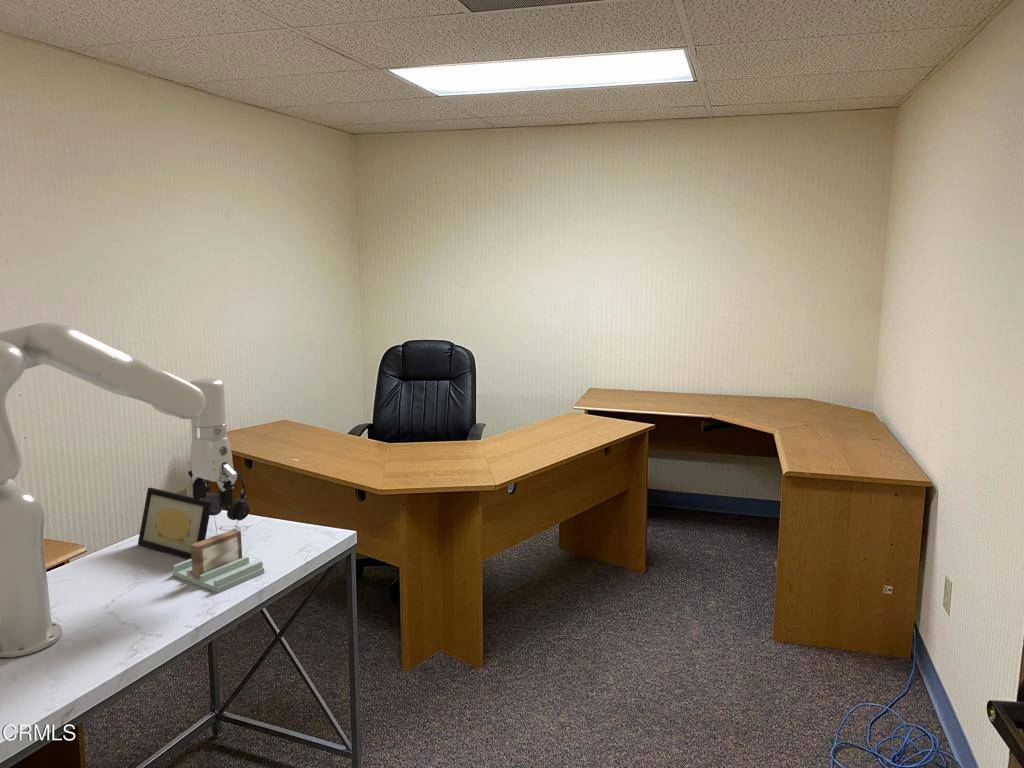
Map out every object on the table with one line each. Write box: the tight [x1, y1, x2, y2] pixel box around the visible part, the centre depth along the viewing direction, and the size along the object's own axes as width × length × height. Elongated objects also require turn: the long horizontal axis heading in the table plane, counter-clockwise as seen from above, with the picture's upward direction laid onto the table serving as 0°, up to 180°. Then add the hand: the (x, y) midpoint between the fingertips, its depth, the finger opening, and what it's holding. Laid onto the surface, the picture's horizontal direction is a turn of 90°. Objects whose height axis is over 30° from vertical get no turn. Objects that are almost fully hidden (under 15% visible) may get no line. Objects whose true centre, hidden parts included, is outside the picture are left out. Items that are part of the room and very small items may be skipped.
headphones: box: [202, 466, 251, 531], centre depth 202 cm, size 15×11×20 cm
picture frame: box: [137, 487, 212, 560], centre depth 193 cm, size 23×9×15 cm, turn 62°
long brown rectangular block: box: [191, 528, 243, 579], centre depth 177 cm, size 12×3×8 cm, turn 147°
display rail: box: [172, 556, 265, 594], centre depth 178 cm, size 13×17×3 cm
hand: (212, 502), depth 175 cm, fingers open, 9 cm apart
